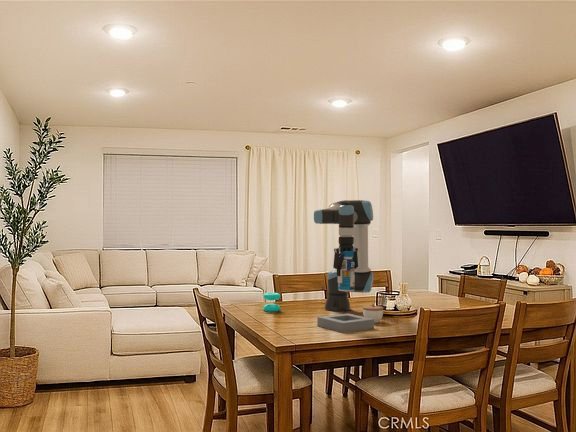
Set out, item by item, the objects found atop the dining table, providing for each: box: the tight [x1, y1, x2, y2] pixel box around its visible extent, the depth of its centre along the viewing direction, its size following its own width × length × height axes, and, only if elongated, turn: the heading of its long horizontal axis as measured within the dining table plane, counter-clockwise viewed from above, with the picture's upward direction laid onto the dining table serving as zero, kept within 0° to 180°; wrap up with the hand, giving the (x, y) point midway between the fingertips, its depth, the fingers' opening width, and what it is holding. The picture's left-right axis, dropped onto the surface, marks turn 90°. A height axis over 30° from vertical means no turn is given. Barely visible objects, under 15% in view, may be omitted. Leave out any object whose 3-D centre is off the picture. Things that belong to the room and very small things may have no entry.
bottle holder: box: [316, 313, 375, 333], centre depth 302 cm, size 20×20×4 cm
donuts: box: [262, 292, 281, 313], centre depth 351 cm, size 10×10×10 cm
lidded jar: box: [362, 303, 384, 324], centre depth 317 cm, size 11×11×9 cm
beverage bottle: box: [338, 251, 355, 291], centre depth 302 cm, size 8×8×20 cm
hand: (345, 282), depth 301 cm, fingers closed on beverage bottle, 7 cm apart
